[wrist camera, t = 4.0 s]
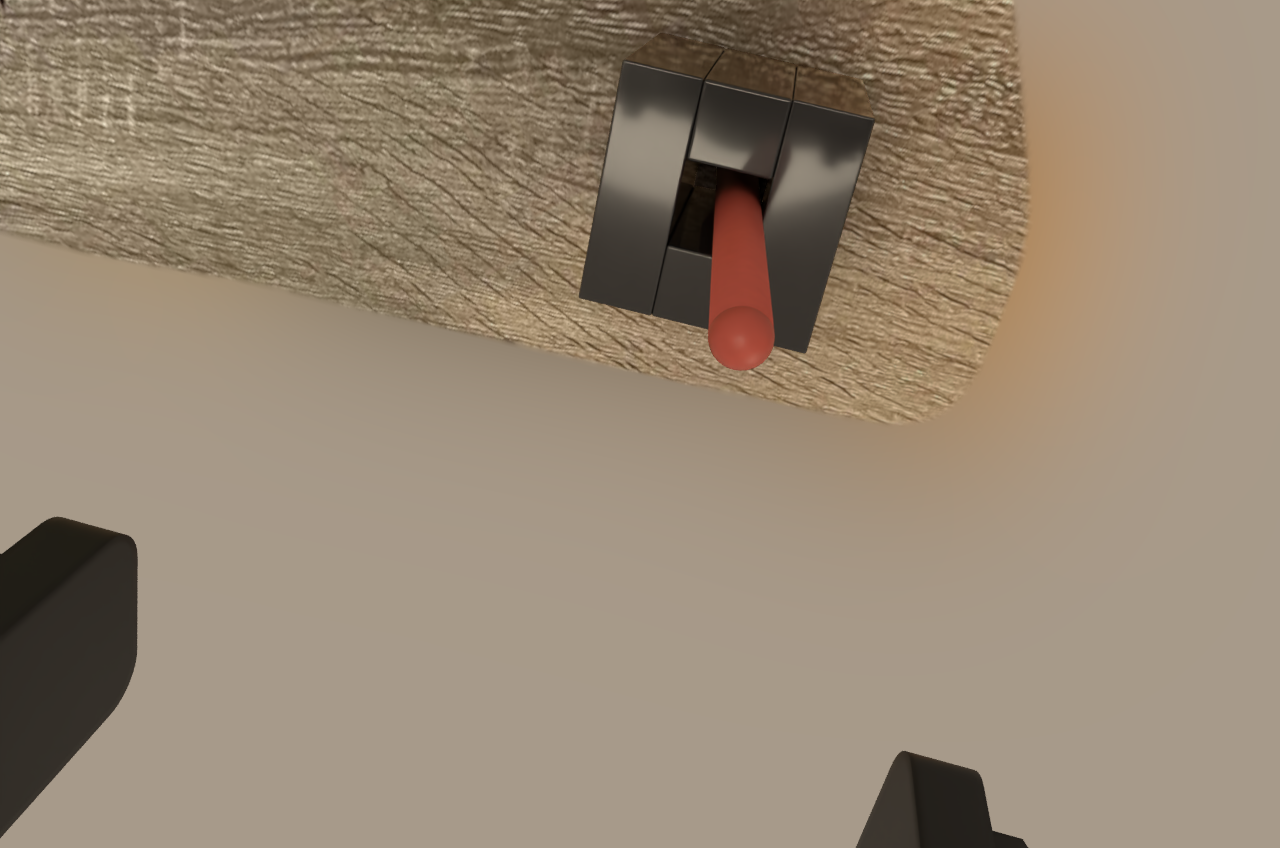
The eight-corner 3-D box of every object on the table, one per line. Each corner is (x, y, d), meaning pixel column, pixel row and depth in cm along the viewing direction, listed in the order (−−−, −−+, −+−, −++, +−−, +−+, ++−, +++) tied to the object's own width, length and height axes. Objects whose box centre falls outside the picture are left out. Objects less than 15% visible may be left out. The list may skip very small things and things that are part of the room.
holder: (863, 79, 32) (875, 118, 25) (807, 275, 34) (806, 354, 28) (660, 32, 32) (622, 59, 26) (620, 230, 35) (577, 298, 28)
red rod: (760, 143, 33) (783, 325, 19) (750, 181, 33) (766, 387, 19) (722, 134, 33) (716, 310, 19) (713, 172, 33) (701, 372, 19)
